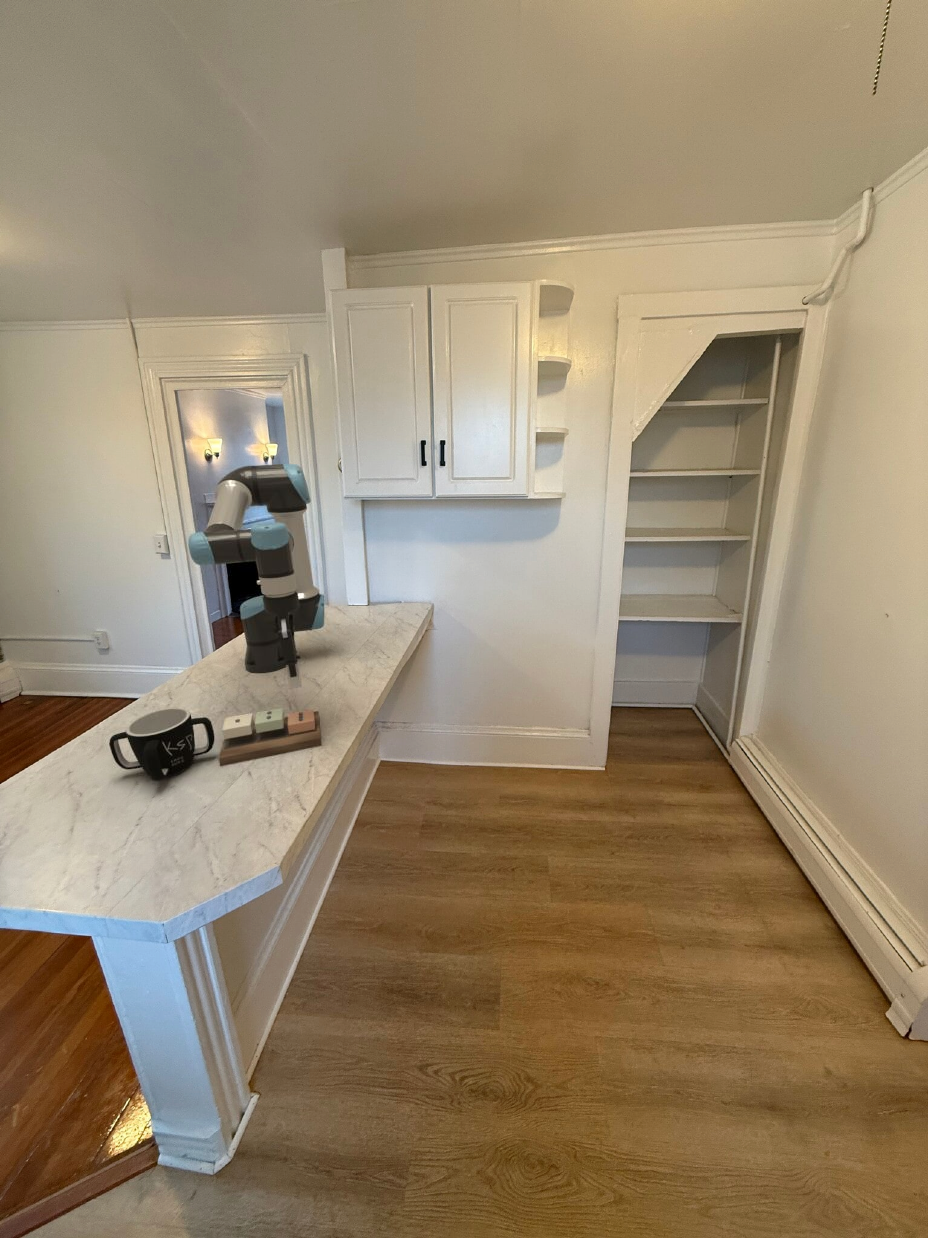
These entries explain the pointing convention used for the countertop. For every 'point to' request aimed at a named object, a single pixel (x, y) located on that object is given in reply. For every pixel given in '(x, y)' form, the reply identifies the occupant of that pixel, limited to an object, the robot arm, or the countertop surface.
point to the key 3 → (301, 721)
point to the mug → (162, 742)
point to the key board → (268, 743)
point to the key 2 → (269, 720)
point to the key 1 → (238, 726)
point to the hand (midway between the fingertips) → (295, 686)
